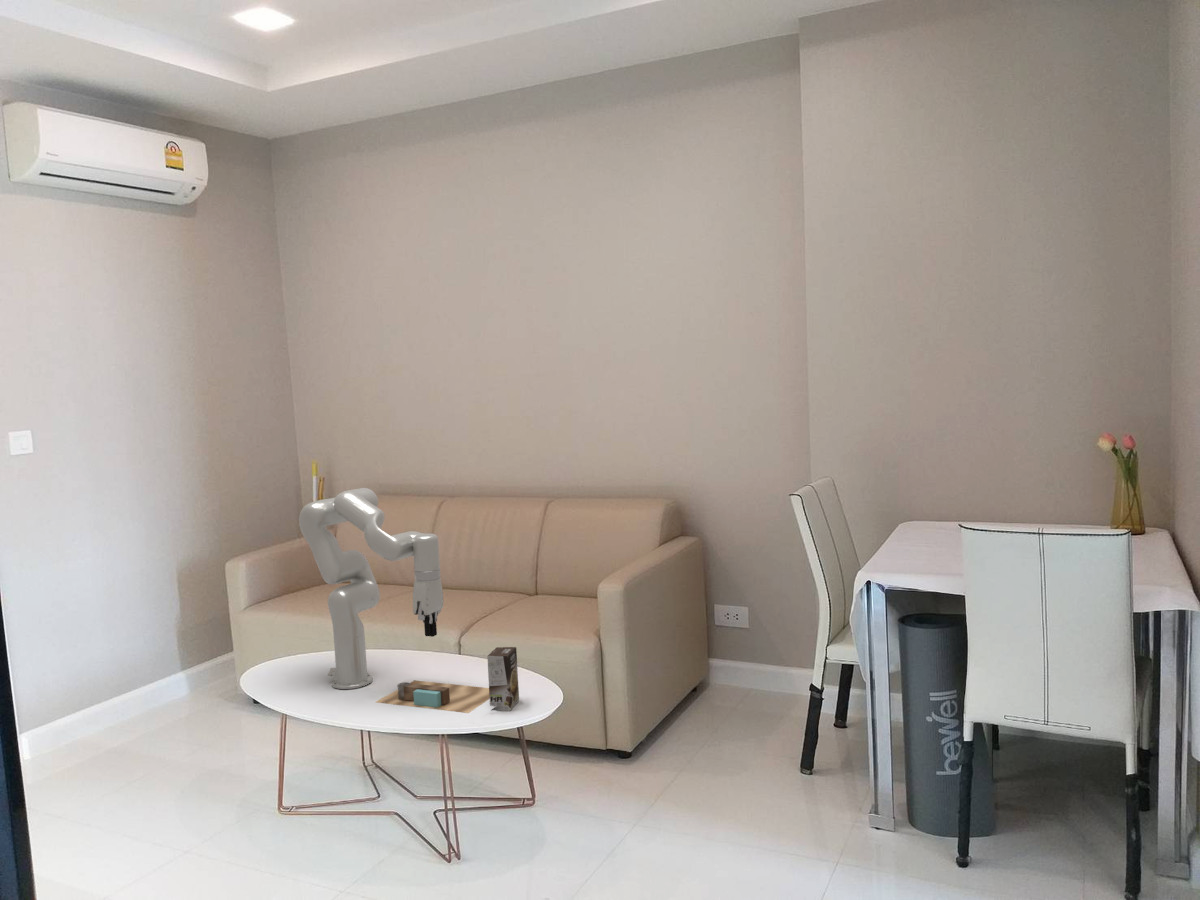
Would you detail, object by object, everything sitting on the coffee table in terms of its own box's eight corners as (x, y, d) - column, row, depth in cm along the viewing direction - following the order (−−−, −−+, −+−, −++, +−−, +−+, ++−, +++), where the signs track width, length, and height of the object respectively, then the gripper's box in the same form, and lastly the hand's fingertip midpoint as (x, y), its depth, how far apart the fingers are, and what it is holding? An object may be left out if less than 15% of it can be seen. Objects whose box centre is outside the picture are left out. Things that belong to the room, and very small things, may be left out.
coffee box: (511, 711, 257) (507, 655, 255) (489, 710, 258) (486, 655, 257) (520, 700, 266) (517, 646, 264) (499, 699, 267) (496, 646, 266)
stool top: (375, 707, 265) (374, 702, 265) (414, 684, 284) (414, 680, 284) (468, 718, 253) (468, 713, 253) (503, 694, 271) (503, 689, 271)
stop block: (414, 704, 261) (413, 691, 261) (418, 702, 263) (417, 689, 263) (437, 707, 258) (436, 694, 258) (441, 705, 260) (440, 691, 260)
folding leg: (395, 699, 266) (395, 685, 266) (403, 694, 269) (402, 681, 269) (443, 704, 259) (442, 691, 259) (450, 700, 262) (449, 687, 262)
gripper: (431, 569, 277) (434, 628, 278) (402, 580, 263) (405, 641, 265) (451, 570, 274) (455, 629, 275) (423, 581, 260) (427, 643, 262)
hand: (430, 635), depth 270 cm, fingers closed
